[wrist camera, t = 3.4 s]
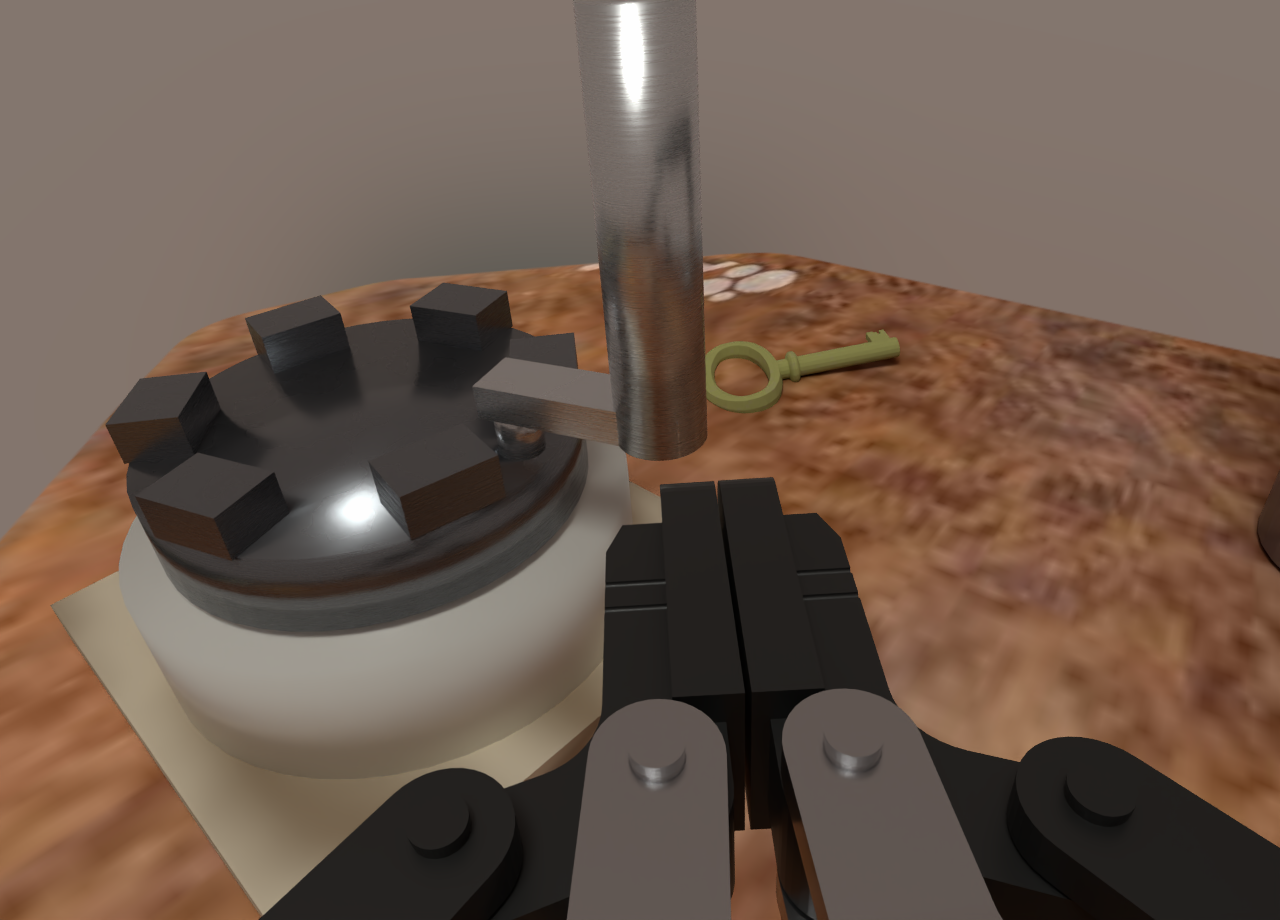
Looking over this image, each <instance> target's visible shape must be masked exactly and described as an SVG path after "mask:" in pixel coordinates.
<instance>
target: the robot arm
mask: <svg viewBox="0 0 1280 920" xmlns="http://www.w3.org/2000/svg"><path fill="white" fill-rule="evenodd" d="M660 495H661V512H662V523H649V524H633V525H622V527H621V528H620V530H619V532H618V533H617V535H616V537H615V538H614V540H613V541H612V543H611V545H610V546H609V548H608V550H607V551H606V568H605V614H604V648H603V687H602V710H601V717H600V720H599V723H598V726H597V728H596V730H595V732H594V734H593V736H592V737H591V739H590V740H589V742H588V743H587V744H586V746H585V747H584V748H583V749H582V750H581V751H580V752H579V753H578V754H577V755H576V756H574V757H573V758H572V759H571V760H569V761H568V762H567V763H565V764H563V765H561V766H560V767H558V768H556V769H554V770H552V771H550V772H547V773H545V774H543V775H540V776H537V777H534V778H532V779H529V780H526V781H523V782H520V783H518V784H515V785H512V786H509V787H507V788H503V786H502V785H501V784H500V783H499V782H497V781H496V780H495V779H494V778H492V777H490V776H489V775H487V774H485V773H483V772H480V771H477V770H473V769H467V768H447V769H441V770H436V771H433V772H430V773H427V774H424V775H422V776H420V777H418V778H415V779H414V780H412V781H410V782H409V783H407V784H406V785H404V786H403V787H401V788H400V789H399V790H398V791H396V792H395V793H394V794H393V795H392V796H391V797H390V798H389V799H387V800H386V801H385V802H384V803H383V804H382V805H381V806H380V807H379V808H378V809H377V810H376V811H375V812H374V813H372V814H371V815H370V816H369V817H368V818H367V819H366V820H365V821H364V822H363V823H362V824H361V825H360V826H358V827H357V828H356V829H355V830H354V831H353V832H352V833H351V834H350V835H349V836H348V837H347V838H346V839H345V840H343V841H342V842H341V843H340V844H339V845H338V846H337V847H336V848H335V849H334V850H333V851H332V852H331V853H329V854H328V855H327V856H326V857H325V858H324V859H323V860H322V861H321V862H320V863H319V864H318V865H317V866H316V867H314V868H313V869H312V870H311V871H310V872H309V873H308V874H307V875H306V876H305V877H304V878H303V879H302V880H300V881H299V882H298V883H297V884H296V885H295V886H294V887H293V888H292V889H291V890H290V891H289V892H288V893H287V894H285V895H284V896H283V897H282V898H281V899H280V900H279V901H278V902H277V903H276V904H275V905H274V906H273V907H272V908H270V909H269V910H268V911H267V912H266V913H265V914H264V915H263V916H262V917H261V918H260V919H259V920H731V897H732V895H733V890H734V884H735V859H734V831H740V830H745V791H746V799H747V806H748V814H749V822H750V829H770V828H771V830H772V836H773V843H774V850H775V856H776V863H777V877H776V896H777V903H778V907H779V912H780V916H781V920H1280V848H1279V847H1277V846H1276V845H1274V844H1273V843H1271V842H1269V841H1268V840H1266V839H1265V838H1263V837H1262V836H1260V835H1258V834H1257V833H1255V832H1254V831H1252V830H1250V829H1249V828H1247V827H1246V826H1244V825H1243V824H1241V823H1239V822H1238V821H1236V820H1235V819H1233V818H1231V817H1230V816H1228V815H1227V814H1225V813H1224V812H1222V811H1220V810H1219V809H1217V808H1216V807H1214V806H1212V805H1211V804H1209V803H1208V802H1206V801H1205V800H1203V799H1201V798H1200V797H1198V796H1197V795H1195V794H1193V793H1192V792H1190V791H1189V790H1187V789H1186V788H1184V787H1182V786H1181V785H1179V784H1178V783H1176V782H1174V781H1173V780H1171V779H1170V778H1168V777H1167V776H1165V775H1163V774H1162V773H1160V772H1159V771H1157V770H1155V769H1154V768H1152V767H1151V766H1149V765H1148V764H1146V763H1144V762H1143V761H1141V760H1140V759H1138V758H1136V757H1135V756H1133V755H1131V754H1129V753H1128V752H1126V751H1124V750H1122V749H1120V748H1118V747H1115V746H1113V745H1111V744H1108V743H1105V742H1101V741H1098V740H1094V739H1089V738H1083V737H1060V738H1054V739H1050V740H1046V741H1044V742H1042V743H1040V744H1038V745H1035V746H1034V747H1033V748H1032V749H1030V750H1029V751H1028V752H1027V753H1026V754H1025V756H1024V757H1023V758H1022V759H1021V762H1017V761H1012V760H1008V759H1003V758H999V757H994V756H990V755H985V754H981V753H976V752H972V751H967V750H964V749H960V748H957V747H953V746H951V745H948V744H946V743H943V742H941V741H939V740H937V739H935V738H933V737H932V736H930V735H928V734H926V733H925V732H924V731H922V730H921V729H919V728H918V727H917V726H916V725H915V723H914V722H913V721H912V720H911V718H910V717H909V716H908V715H907V714H906V713H905V712H904V711H903V710H901V709H900V708H899V707H898V706H897V704H896V703H895V701H894V700H893V698H892V695H891V693H890V691H889V688H888V685H887V682H886V678H885V675H884V672H883V669H882V666H881V663H880V660H879V656H878V653H877V650H876V647H875V644H874V641H873V638H872V634H871V631H870V628H869V625H868V622H867V619H866V616H865V612H864V609H863V606H862V603H861V600H860V598H858V590H857V587H856V584H855V581H854V578H853V575H852V573H851V572H850V565H849V562H848V559H847V556H846V553H845V550H844V546H843V543H842V540H841V537H840V536H839V535H838V534H837V533H836V532H835V531H834V530H833V529H832V528H831V527H830V526H829V525H828V524H827V523H826V522H825V521H824V520H823V519H822V518H821V517H820V516H819V515H818V514H817V513H807V514H791V515H783V513H782V509H781V504H780V500H779V496H778V492H777V488H776V484H775V481H774V478H773V477H769V478H753V479H737V480H721V481H718V503H717V496H716V489H715V484H714V481H709V482H693V483H677V484H661V485H660ZM1258 534H1259V537H1260V541H1261V544H1262V546H1263V547H1264V549H1265V551H1266V552H1267V554H1268V555H1269V557H1270V558H1271V560H1272V561H1273V562H1274V563H1275V564H1276V565H1277V566H1278V567H1279V568H1280V471H1279V473H1278V475H1277V478H1276V480H1275V482H1274V485H1273V487H1272V489H1271V492H1270V494H1269V496H1268V499H1267V501H1266V503H1265V506H1264V508H1263V510H1262V513H1261V515H1260V517H1259V523H1258Z"/></svg>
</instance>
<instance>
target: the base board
mask: <svg viewBox="0 0 1280 920" xmlns="http://www.w3.org/2000/svg"><path fill="white" fill-rule="evenodd" d="M629 487H630V498H631V509H632V520H633V524H649V523H662V512H661V497H659V496H657V495H655V494H653V493H651V492H649V491H647V490H645V489H643V488H642V487H640V486H638V485H636V484H634V483H632V482H630V481H629ZM50 606H51V607H52V609H53V610H54V612H55V614H56V615H57V617H58V619H59V620H60V622H61V623H62V625H63V627H64V628H65V630H66V631H67V633H68V635H69V636H70V638H71V639H72V641H73V642H74V644H75V645H76V647H77V648H78V650H79V651H80V653H81V654H82V656H83V657H84V658H85V660H86V661H87V663H88V664H89V666H90V667H91V669H92V670H93V672H94V673H95V675H96V676H97V677H98V679H99V680H100V682H101V683H102V685H103V686H104V688H105V689H106V691H107V692H108V694H109V695H110V696H111V698H112V699H113V701H114V702H115V704H116V705H117V707H118V708H119V710H120V711H121V713H122V714H123V715H124V717H125V718H126V720H127V721H128V723H129V724H130V726H131V727H132V729H133V730H134V732H135V733H136V735H137V736H138V737H139V739H140V740H141V742H142V743H143V745H144V746H145V748H146V749H147V751H148V752H149V754H150V755H151V756H152V758H153V759H154V761H155V762H156V764H157V765H158V767H159V768H160V770H161V771H162V773H163V774H164V775H165V777H166V778H167V780H168V781H169V783H170V784H171V786H172V787H173V789H174V790H175V792H176V793H177V794H178V796H179V797H180V799H181V800H182V802H183V803H184V805H185V806H186V808H187V809H188V811H189V812H190V814H191V815H192V816H193V818H194V819H195V821H196V822H197V824H198V825H199V827H200V828H201V830H202V831H203V833H204V834H205V835H206V837H207V838H208V840H209V841H210V843H211V844H212V846H213V847H214V849H215V850H216V852H217V853H218V854H219V856H220V857H221V859H222V860H223V862H224V863H225V865H226V866H227V868H228V869H229V871H230V872H231V873H232V875H233V876H234V878H235V879H236V881H237V882H238V884H239V885H240V887H241V888H242V890H243V891H244V893H245V894H246V895H247V897H248V898H249V900H250V901H251V903H252V904H253V906H254V907H255V909H256V910H257V912H258V913H259V914H260V916H261V917H262V916H263V915H264V914H265V913H266V912H267V911H268V910H269V909H270V908H272V907H273V906H274V905H275V904H276V903H277V902H278V901H279V900H280V899H281V898H282V897H283V896H284V895H285V894H287V893H288V892H289V891H290V890H291V889H292V888H293V887H294V886H295V885H296V884H297V883H298V882H299V881H300V880H302V879H303V878H304V877H305V876H306V875H307V874H308V873H309V872H310V871H311V870H312V869H313V868H314V867H316V866H317V865H318V864H319V863H320V862H321V861H322V860H323V859H324V858H325V857H326V856H327V855H328V854H329V853H331V852H332V851H333V850H334V849H335V848H336V847H337V846H338V845H339V844H340V843H341V842H342V841H343V840H345V839H346V838H347V837H348V836H349V835H350V834H351V833H352V832H353V831H354V830H355V829H356V828H357V827H358V826H360V825H361V824H362V823H363V822H364V821H365V820H366V819H367V818H368V817H369V816H370V815H371V814H372V813H374V812H375V811H376V810H377V809H378V808H379V807H380V806H381V805H382V804H383V803H384V802H385V801H386V800H387V799H389V798H390V797H391V796H392V795H393V794H394V793H395V792H396V791H398V790H399V789H400V788H401V787H403V786H404V785H406V784H407V783H409V782H410V781H412V780H414V779H415V778H418V777H420V776H422V775H424V774H427V773H430V772H433V771H436V770H441V769H447V768H467V769H473V770H477V771H480V772H483V773H485V774H487V775H489V776H490V777H492V778H494V779H495V780H496V781H497V782H499V783H500V784H501V785H502V786H503V788H507V787H509V786H512V785H515V784H518V783H520V782H523V781H526V780H529V779H532V778H534V777H537V776H540V775H543V774H545V773H547V772H550V771H552V770H554V769H556V768H558V767H560V766H561V765H563V764H565V763H567V762H568V761H569V760H571V759H572V758H573V757H574V756H576V755H577V754H578V753H579V752H580V751H581V750H582V749H583V748H584V747H585V746H586V744H587V743H588V742H589V740H590V739H591V737H592V736H593V734H594V732H595V730H596V728H597V726H598V723H599V720H600V717H601V710H602V687H603V660H602V661H601V662H600V663H599V665H598V666H597V667H596V668H595V669H594V670H593V672H592V673H591V674H590V675H589V676H588V677H587V678H586V680H585V681H583V682H582V683H581V684H580V685H579V686H578V687H577V688H576V689H575V690H574V691H572V692H571V693H570V694H569V695H568V696H567V697H566V698H565V699H564V700H563V701H561V702H560V703H559V704H557V705H556V706H554V707H553V708H552V709H550V710H549V711H548V712H546V713H545V714H543V715H542V716H541V717H539V718H538V719H536V720H535V721H534V722H532V723H530V724H528V725H527V726H525V727H523V728H521V729H520V730H518V731H516V732H514V733H513V734H511V735H509V736H507V737H506V738H504V739H502V740H500V741H498V742H495V743H493V744H491V745H489V746H486V747H484V748H482V749H480V750H477V751H475V752H473V753H471V754H468V755H466V756H463V757H460V758H457V759H453V760H450V761H447V762H444V763H441V764H438V765H435V766H432V767H428V768H424V769H419V770H415V771H410V772H405V773H401V774H396V775H390V776H381V777H372V778H363V779H314V778H306V777H298V776H290V775H284V774H281V773H277V772H273V771H270V770H266V769H262V768H259V767H255V766H253V765H251V764H248V763H246V762H244V761H242V760H240V759H237V758H235V757H233V756H231V755H229V754H227V753H226V752H224V751H223V750H221V749H220V748H219V747H217V746H216V745H214V744H213V743H211V742H210V741H208V740H207V739H206V738H205V737H204V736H203V735H202V734H201V733H200V732H199V730H198V729H197V728H196V727H195V726H194V725H193V724H192V723H191V722H190V720H189V719H188V717H187V715H186V714H185V712H184V710H183V709H182V707H181V705H180V704H179V702H178V700H177V698H176V696H175V695H174V693H173V691H172V689H171V687H170V685H169V684H168V682H167V680H166V678H165V676H164V675H163V673H162V671H161V669H160V667H159V666H158V664H157V662H156V660H155V658H154V657H153V655H152V653H151V651H150V649H149V647H148V646H147V644H146V642H145V640H144V638H143V637H142V635H141V633H140V631H139V629H138V628H137V626H136V624H135V622H134V620H133V618H132V617H131V615H130V613H129V611H128V609H127V608H126V606H125V603H124V600H123V596H122V593H121V589H120V586H119V571H117V572H115V573H114V574H112V575H110V576H108V577H106V578H104V579H102V580H100V581H98V582H96V583H94V584H92V585H90V586H88V587H86V588H84V589H82V590H80V591H78V592H76V593H74V594H72V595H70V596H68V597H66V598H64V599H62V600H60V601H58V602H56V603H54V604H52V605H50Z"/></svg>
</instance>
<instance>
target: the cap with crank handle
mask: <svg viewBox="0 0 1280 920" xmlns="http://www.w3.org/2000/svg"><path fill="white" fill-rule="evenodd" d="M573 3H574V13H575V24H576V34H577V45H578V55H579V65H580V75H581V84H582V95H583V106H584V116H585V126H586V136H587V147H588V156H589V167H590V177H591V187H592V197H593V208H594V217H595V228H596V238H597V248H598V257H599V258H598V259H599V269H600V279H601V289H602V299H603V309H604V320H605V330H606V340H607V350H608V360H609V371H610V374H604V373H598V372H592V371H586V370H580V369H578V363H577V355H576V347H575V339H574V333H566V334H556V335H547V336H537V337H534V336H532V335H530V334H528V333H525V332H522V331H519V330H516V329H514V328H511V327H512V326H513V325H512V319H511V313H510V307H509V301H508V295H507V291H502V290H494V289H487V288H479V287H472V286H464V285H456V284H449V283H442V284H441V285H439V286H438V287H437V288H435V289H434V290H432V291H431V292H429V293H428V294H426V295H425V296H423V297H422V298H421V299H419V300H418V301H416V302H415V303H413V304H412V305H410V309H411V313H412V317H413V319H402V320H391V321H382V322H375V323H368V324H362V325H356V326H351V327H346V328H344V324H343V321H342V317H341V314H340V312H338V311H337V310H336V309H335V308H334V307H333V306H332V305H331V304H330V303H328V302H327V301H326V300H325V299H324V298H323V297H322V296H321V295H320V296H317V297H314V298H311V299H307V300H304V301H301V302H297V303H294V304H291V305H287V306H284V307H281V308H278V309H274V310H271V311H268V312H264V313H261V314H258V315H254V316H251V317H248V318H245V320H246V323H247V325H248V328H249V331H250V334H251V337H252V340H253V342H254V345H255V348H256V351H257V353H258V355H256V356H254V357H251V358H249V359H247V360H244V361H242V362H240V363H238V364H236V365H234V366H232V367H230V368H228V369H226V370H224V371H222V372H221V373H219V374H217V375H215V376H214V377H212V378H210V379H209V377H208V375H207V372H199V373H190V374H181V375H171V376H162V377H152V378H143V379H140V380H139V381H138V382H137V384H136V385H135V386H134V387H133V389H132V390H131V391H130V393H129V394H128V395H127V397H126V398H125V399H124V401H123V402H122V403H121V405H120V406H119V407H118V409H117V410H116V411H115V413H114V414H113V415H112V417H111V418H110V419H109V421H108V422H107V423H106V427H107V429H108V431H109V433H110V435H111V437H112V439H113V442H114V444H115V446H116V448H117V450H118V452H119V454H120V456H121V458H122V460H123V462H124V464H126V463H129V467H128V471H127V493H128V496H129V499H130V502H131V504H132V507H133V509H134V511H135V513H136V515H137V517H138V519H139V521H140V523H141V525H142V527H143V529H144V531H145V533H146V535H147V537H148V539H149V541H150V543H151V545H152V547H153V549H154V551H155V553H156V555H157V557H158V559H159V561H160V563H161V565H162V567H163V569H164V571H165V573H166V575H167V576H168V578H169V579H170V581H171V582H172V584H173V585H174V587H175V588H176V589H177V591H179V592H180V593H181V594H182V595H183V596H184V597H185V598H186V599H188V600H189V601H190V602H191V603H192V604H194V605H196V606H197V607H199V608H201V609H203V610H204V611H206V612H208V613H210V614H211V615H214V616H217V617H219V618H222V619H225V620H228V621H230V622H233V623H237V624H241V625H246V626H250V627H255V628H260V629H268V630H278V631H289V632H318V631H333V630H343V629H352V628H360V627H365V626H370V625H375V624H380V623H386V622H391V621H395V620H398V619H402V618H405V617H409V616H412V615H416V614H419V613H423V612H426V611H429V610H431V609H434V608H437V607H439V606H442V605H444V604H447V603H450V602H452V601H455V600H458V599H460V598H462V597H464V596H466V595H468V594H470V593H472V592H474V591H476V590H478V589H480V588H483V587H485V586H487V585H488V584H490V583H492V582H493V581H495V580H497V579H498V578H500V577H502V576H503V575H505V574H507V573H508V572H510V571H512V570H513V569H515V568H516V567H517V566H519V565H520V564H521V563H523V562H524V561H525V560H527V559H528V558H529V557H531V556H532V555H533V554H535V553H536V552H537V551H538V550H539V549H540V548H541V547H542V546H543V545H544V544H546V543H547V542H548V541H549V540H550V539H551V538H552V537H553V536H554V535H555V534H556V533H557V531H558V530H559V529H560V528H561V527H562V525H563V524H564V523H565V522H566V520H567V519H568V518H569V516H570V515H571V513H572V511H573V510H574V508H575V507H576V505H577V503H578V502H579V500H580V497H581V494H582V492H583V489H584V487H585V484H586V479H587V473H588V451H587V443H586V440H591V441H596V442H601V443H606V444H611V445H616V446H619V447H620V448H621V449H622V450H623V451H624V452H626V453H627V454H629V455H631V456H633V457H636V458H640V459H644V460H652V461H664V460H672V459H677V458H681V457H684V456H687V455H689V454H691V453H693V452H695V451H696V450H698V449H699V448H700V447H701V446H702V445H703V444H704V443H705V441H706V439H707V398H706V361H705V324H704V287H703V251H702V217H701V216H702V214H701V178H700V177H701V176H700V141H699V102H698V65H697V28H696V0H573Z"/></svg>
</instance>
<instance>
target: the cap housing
mask: <svg viewBox="0 0 1280 920" xmlns="http://www.w3.org/2000/svg"><path fill="white" fill-rule="evenodd" d="M586 443H587V451H588V473H587V479H586V484H585V487H584V489H583V492H582V494H581V497H580V500H579V502H578V503H577V505H576V507H575V508H574V510H573V511H572V513H571V515H570V516H569V518H568V519H567V520H566V522H565V523H564V524H563V525H562V527H561V528H560V529H559V530H558V531H557V533H556V534H555V535H554V536H553V537H552V538H551V539H550V540H549V541H548V542H547V543H546V544H544V545H543V546H542V547H541V548H540V549H539V550H538V551H537V552H536V553H535V554H533V555H532V556H531V557H529V558H528V559H527V560H525V561H524V562H523V563H521V564H520V565H519V566H517V567H516V568H515V569H513V570H512V571H510V572H508V573H507V574H505V575H503V576H502V577H500V578H498V579H497V580H495V581H493V582H492V583H490V584H488V585H487V586H485V587H483V588H480V589H478V590H476V591H474V592H472V593H470V594H468V595H466V596H464V597H462V598H460V599H458V600H455V601H452V602H450V603H447V604H444V605H442V606H439V607H437V608H434V609H431V610H429V611H426V612H423V613H419V614H416V615H412V616H409V617H405V618H402V619H398V620H395V621H391V622H386V623H380V624H375V625H370V626H365V627H360V628H352V629H343V630H333V631H318V632H289V631H278V630H268V629H260V628H255V627H250V626H246V625H241V624H237V623H233V622H230V621H228V620H225V619H222V618H219V617H217V616H214V615H211V614H210V613H208V612H206V611H204V610H203V609H201V608H199V607H197V606H196V605H194V604H192V603H191V602H190V601H189V600H188V599H186V598H185V597H184V596H183V595H182V594H181V593H180V592H179V591H177V589H176V588H175V587H174V585H173V584H172V582H171V581H170V579H169V578H168V576H167V575H166V573H165V571H164V569H163V567H162V565H161V563H160V561H159V559H158V557H157V555H156V553H155V551H154V549H153V547H152V545H151V543H150V541H149V539H148V537H147V535H146V533H145V531H144V529H143V527H142V525H141V523H140V521H139V519H138V517H136V518H135V520H134V521H133V523H132V525H131V527H130V530H129V532H128V534H127V537H126V539H125V541H124V544H123V548H122V553H121V557H120V562H119V586H120V589H121V593H122V596H123V600H124V603H125V606H126V608H127V609H128V611H129V613H130V615H131V617H132V618H133V620H134V622H135V624H136V626H137V628H138V629H139V631H140V633H141V635H142V637H143V638H144V640H145V642H146V644H147V646H148V647H149V649H150V651H151V653H152V655H153V657H154V658H155V660H156V662H157V664H158V666H159V667H160V669H161V671H162V673H163V675H164V676H165V678H166V680H167V682H168V684H169V685H170V687H171V689H172V691H173V693H174V695H175V696H176V698H177V700H178V702H179V704H180V705H181V707H182V709H183V710H184V712H185V714H186V715H187V717H188V719H189V720H190V722H191V723H192V724H193V725H194V726H195V727H196V728H197V729H198V730H199V732H200V733H201V734H202V735H203V736H204V737H205V738H206V739H207V740H208V741H210V742H211V743H213V744H214V745H216V746H217V747H219V748H220V749H221V750H223V751H224V752H226V753H227V754H229V755H231V756H233V757H235V758H237V759H240V760H242V761H244V762H246V763H248V764H251V765H253V766H255V767H259V768H262V769H266V770H270V771H273V772H277V773H281V774H284V775H290V776H298V777H306V778H314V779H363V778H372V777H381V776H390V775H396V774H401V773H405V772H410V771H415V770H419V769H424V768H428V767H432V766H435V765H438V764H441V763H444V762H447V761H450V760H453V759H457V758H460V757H463V756H466V755H468V754H471V753H473V752H475V751H477V750H480V749H482V748H484V747H486V746H489V745H491V744H493V743H495V742H498V741H500V740H502V739H504V738H506V737H507V736H509V735H511V734H513V733H514V732H516V731H518V730H520V729H521V728H523V727H525V726H527V725H528V724H530V723H532V722H534V721H535V720H536V719H538V718H539V717H541V716H542V715H543V714H545V713H546V712H548V711H549V710H550V709H552V708H553V707H554V706H556V705H557V704H559V703H560V702H561V701H563V700H564V699H565V698H566V697H567V696H568V695H569V694H570V693H571V692H572V691H574V690H575V689H576V688H577V687H578V686H579V685H580V684H581V683H582V682H583V681H585V680H586V678H587V677H588V676H589V675H590V674H591V673H592V672H593V670H594V669H595V668H596V667H597V666H598V665H599V663H600V662H601V661H602V660H603V648H604V614H605V568H606V551H607V550H608V548H609V546H610V545H611V543H612V541H613V540H614V538H615V537H616V535H617V533H618V532H619V530H620V528H621V527H622V525H633V520H632V509H631V498H630V487H629V476H628V467H627V459H626V454H625V452H624V451H623V450H622V449H621V448H620V447H619V446H616V445H611V444H606V443H601V442H596V441H591V440H586Z"/></svg>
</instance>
